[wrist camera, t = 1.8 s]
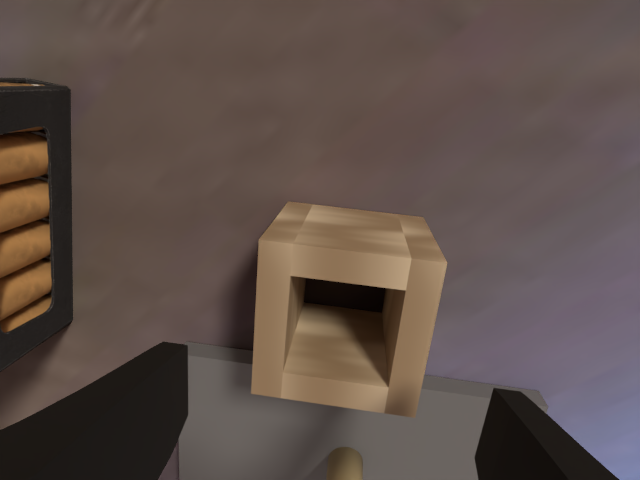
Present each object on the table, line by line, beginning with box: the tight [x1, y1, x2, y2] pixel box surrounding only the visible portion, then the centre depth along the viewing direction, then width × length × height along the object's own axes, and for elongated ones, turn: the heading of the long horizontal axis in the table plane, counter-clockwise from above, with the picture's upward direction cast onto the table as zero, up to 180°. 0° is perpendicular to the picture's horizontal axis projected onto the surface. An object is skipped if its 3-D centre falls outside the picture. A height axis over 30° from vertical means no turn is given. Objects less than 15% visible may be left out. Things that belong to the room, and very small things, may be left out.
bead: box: [251, 202, 447, 418], centre depth 15 cm, size 5×5×5 cm
